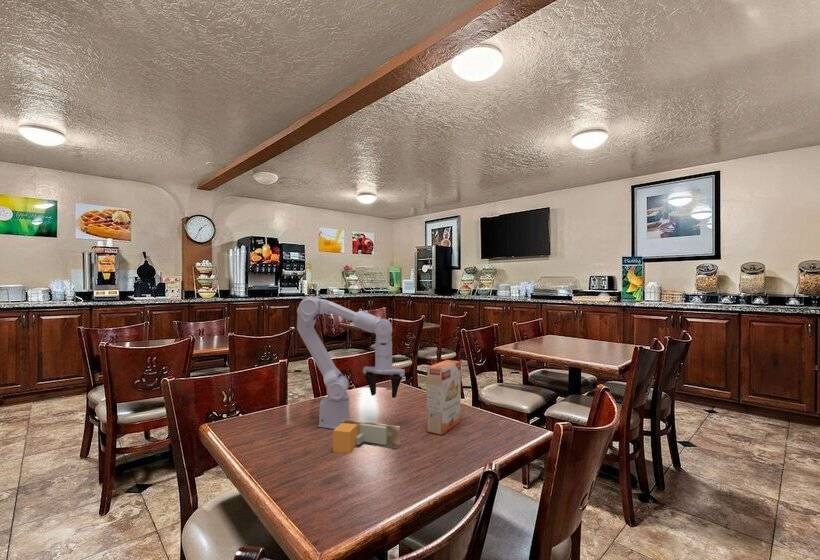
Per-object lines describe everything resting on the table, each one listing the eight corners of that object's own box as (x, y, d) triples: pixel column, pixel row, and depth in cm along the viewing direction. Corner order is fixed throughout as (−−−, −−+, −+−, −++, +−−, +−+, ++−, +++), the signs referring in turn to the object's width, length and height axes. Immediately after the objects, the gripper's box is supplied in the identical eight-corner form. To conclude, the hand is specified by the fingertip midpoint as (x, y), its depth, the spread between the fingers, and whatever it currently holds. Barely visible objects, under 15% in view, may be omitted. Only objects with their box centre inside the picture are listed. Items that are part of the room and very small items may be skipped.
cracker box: (443, 436, 118) (442, 368, 118) (426, 432, 121) (425, 366, 121) (461, 422, 130) (461, 360, 130) (445, 419, 133) (445, 359, 133)
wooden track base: (339, 440, 115) (339, 421, 115) (344, 436, 118) (344, 418, 118) (396, 449, 109) (396, 429, 109) (400, 445, 111) (400, 426, 112)
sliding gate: (354, 444, 110) (354, 428, 110) (361, 439, 114) (361, 423, 114) (381, 449, 107) (381, 431, 107) (387, 443, 111) (387, 426, 111)
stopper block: (333, 452, 107) (333, 430, 107) (341, 443, 113) (341, 423, 113) (349, 453, 106) (349, 431, 106) (357, 444, 112) (357, 424, 112)
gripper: (358, 356, 128) (359, 397, 127) (399, 358, 123) (399, 401, 122) (368, 352, 134) (368, 391, 134) (406, 355, 129) (407, 395, 129)
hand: (383, 395), depth 129 cm, fingers open, 7 cm apart
